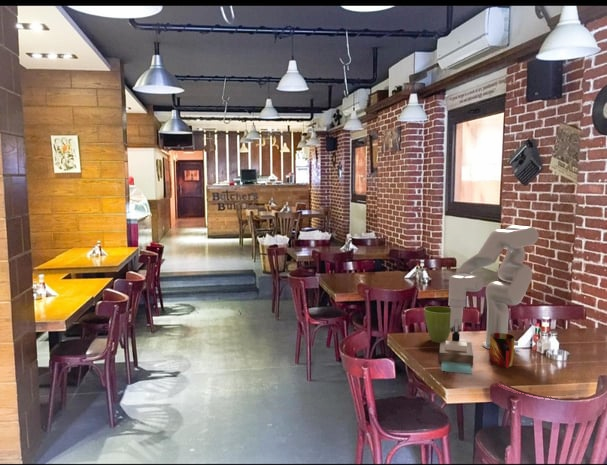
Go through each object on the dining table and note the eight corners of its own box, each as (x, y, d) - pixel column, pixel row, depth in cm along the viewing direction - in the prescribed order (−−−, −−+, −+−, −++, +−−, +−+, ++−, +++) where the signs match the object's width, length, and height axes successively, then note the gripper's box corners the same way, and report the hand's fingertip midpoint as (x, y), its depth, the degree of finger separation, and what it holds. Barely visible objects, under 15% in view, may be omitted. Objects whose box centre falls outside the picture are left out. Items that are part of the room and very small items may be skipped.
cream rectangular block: (466, 347, 225) (466, 342, 225) (466, 351, 219) (467, 346, 219) (445, 345, 227) (445, 340, 227) (445, 349, 222) (445, 344, 221)
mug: (506, 371, 207) (507, 342, 206) (484, 360, 220) (485, 333, 219) (525, 368, 210) (526, 340, 209) (502, 358, 223) (503, 332, 222)
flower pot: (439, 347, 238) (440, 314, 237) (416, 339, 251) (417, 308, 250) (460, 342, 247) (461, 310, 245) (437, 335, 259) (438, 304, 258)
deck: (471, 350, 233) (471, 342, 233) (473, 364, 214) (473, 355, 214) (440, 348, 237) (440, 339, 237) (439, 361, 218) (439, 352, 217)
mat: (470, 364, 214) (470, 363, 214) (471, 374, 202) (471, 373, 202) (441, 362, 217) (441, 361, 217) (441, 371, 206) (441, 370, 205)
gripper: (448, 298, 235) (447, 337, 236) (448, 305, 221) (446, 345, 222) (465, 300, 233) (463, 338, 234) (466, 306, 219) (464, 347, 220)
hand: (455, 342), depth 228 cm, fingers closed
